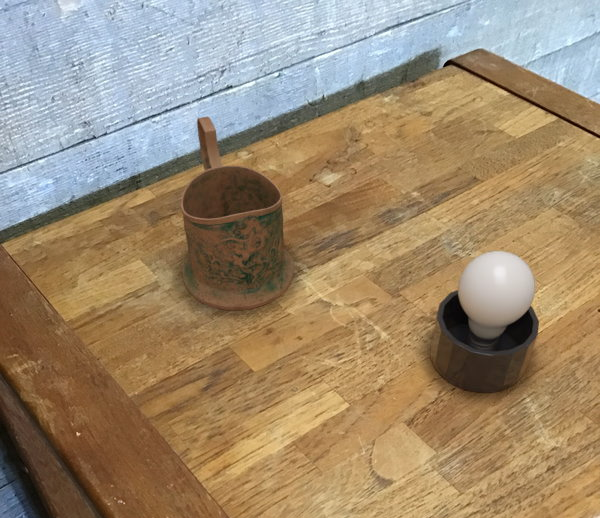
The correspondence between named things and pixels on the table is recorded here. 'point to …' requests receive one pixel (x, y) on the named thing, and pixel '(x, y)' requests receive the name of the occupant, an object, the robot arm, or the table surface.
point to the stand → (480, 363)
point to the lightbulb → (494, 295)
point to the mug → (233, 233)
